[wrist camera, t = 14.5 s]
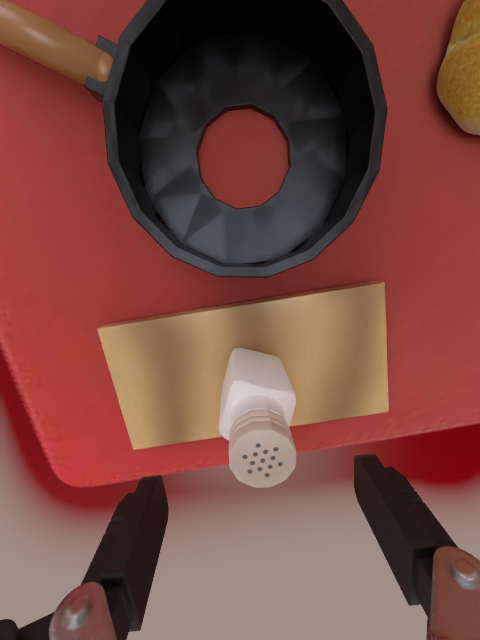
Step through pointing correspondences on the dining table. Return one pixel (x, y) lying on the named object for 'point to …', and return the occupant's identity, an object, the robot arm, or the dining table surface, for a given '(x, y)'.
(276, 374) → the pepper shaker
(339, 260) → the dining table surface
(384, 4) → the dining table surface
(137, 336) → the board
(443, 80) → the bread roll
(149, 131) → the pan
